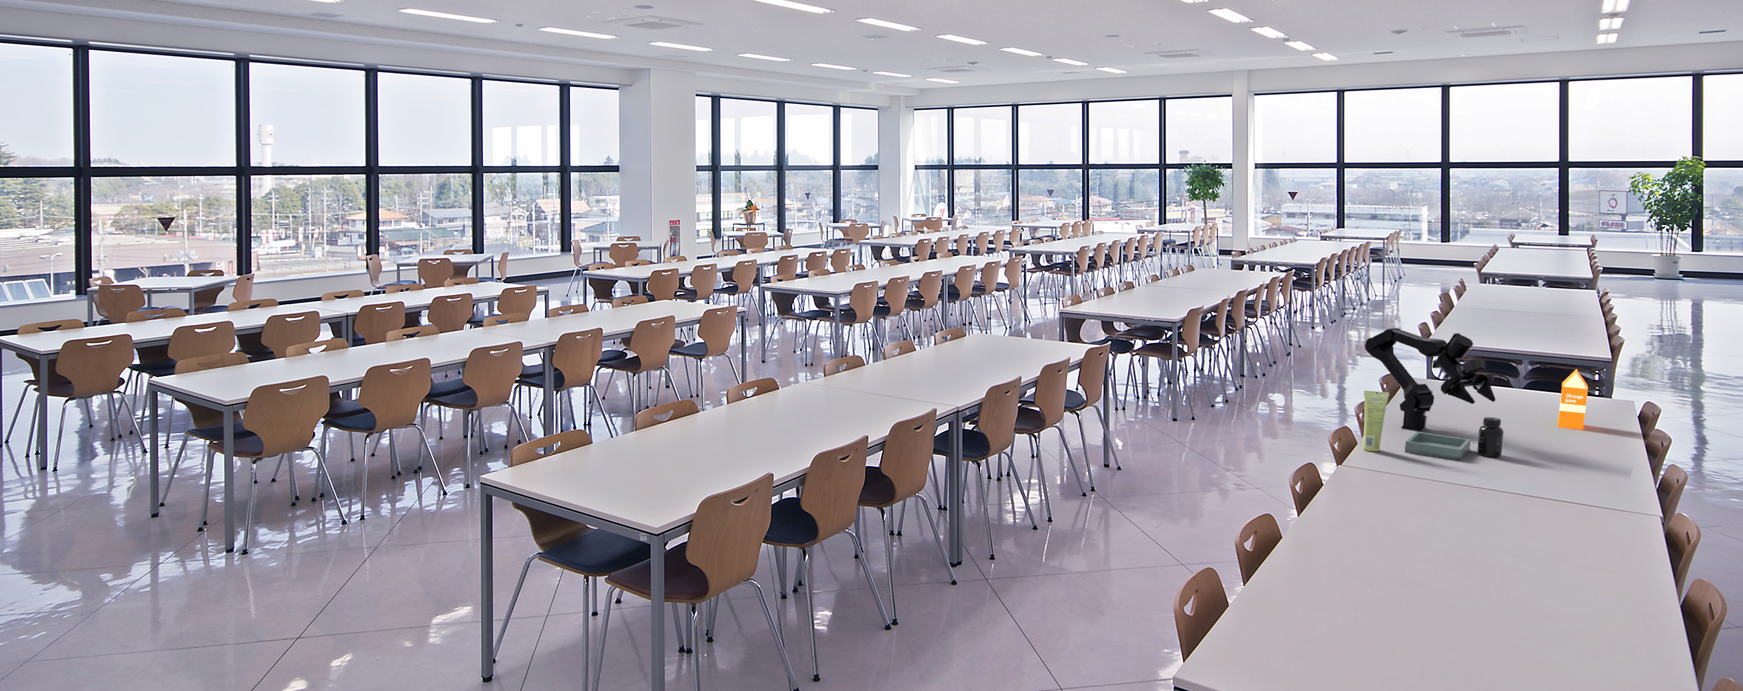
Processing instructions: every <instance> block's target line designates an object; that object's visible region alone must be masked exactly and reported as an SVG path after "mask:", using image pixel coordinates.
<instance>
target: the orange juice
mask: <svg viewBox="0 0 1743 691" xmlns="http://www.w3.org/2000/svg"><path fill="white" fill-rule="evenodd" d="M1588 390H1589V386H1588V384H1587V382H1586V381H1585V380H1584V378H1583V377H1582V375H1581V374H1580V372H1579V370H1578V368H1576V369H1575V370H1574V371H1573V372H1572V373H1570V374H1569V376H1568V377H1566V379H1565V380H1563V381H1562V383H1561V393H1560V395H1561V396H1560V401H1559V402H1560V403H1559V411H1558V420H1557V428H1564V429H1571V430H1572V429H1573V430H1574V429H1575V430H1580V431H1581V430H1582V431H1583V430H1584V424H1585V416H1586V415H1585V414H1586V409H1587V401H1588Z"/></svg>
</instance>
